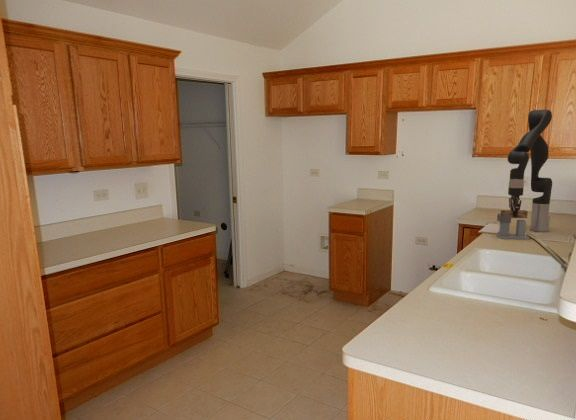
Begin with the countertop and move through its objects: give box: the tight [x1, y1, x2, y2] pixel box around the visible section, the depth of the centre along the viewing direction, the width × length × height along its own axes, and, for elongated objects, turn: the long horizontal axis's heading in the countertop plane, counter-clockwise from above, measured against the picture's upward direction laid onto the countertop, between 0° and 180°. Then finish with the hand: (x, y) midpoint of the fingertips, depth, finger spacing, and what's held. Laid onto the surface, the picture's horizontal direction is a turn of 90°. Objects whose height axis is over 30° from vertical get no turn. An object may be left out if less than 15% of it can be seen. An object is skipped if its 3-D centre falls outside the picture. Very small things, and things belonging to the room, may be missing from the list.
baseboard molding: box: [478, 221, 500, 235], centre depth 264 cm, size 31×3×12 cm
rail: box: [500, 209, 529, 219], centre depth 237 cm, size 13×4×4 cm, turn 84°
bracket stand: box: [495, 213, 530, 240], centre depth 238 cm, size 15×8×13 cm, turn 79°
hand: (513, 216), depth 237 cm, fingers closed on rail, 4 cm apart
